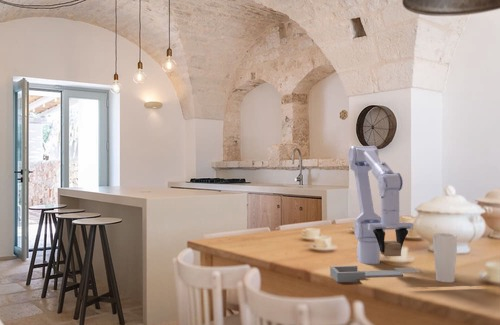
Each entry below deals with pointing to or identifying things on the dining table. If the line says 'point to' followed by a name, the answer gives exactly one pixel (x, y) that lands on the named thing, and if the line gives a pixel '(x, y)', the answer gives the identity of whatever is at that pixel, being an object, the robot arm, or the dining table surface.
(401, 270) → the plate
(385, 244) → the block
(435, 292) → the dining table surface
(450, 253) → the drinking glass
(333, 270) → the grey square pan
